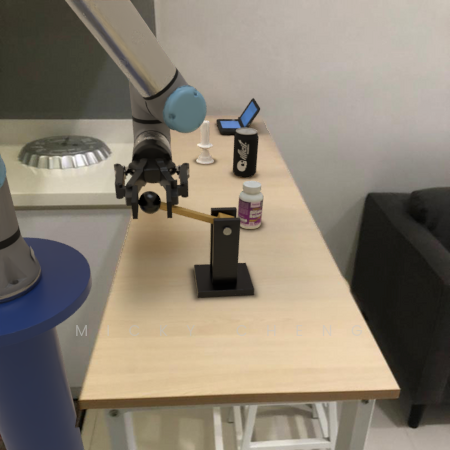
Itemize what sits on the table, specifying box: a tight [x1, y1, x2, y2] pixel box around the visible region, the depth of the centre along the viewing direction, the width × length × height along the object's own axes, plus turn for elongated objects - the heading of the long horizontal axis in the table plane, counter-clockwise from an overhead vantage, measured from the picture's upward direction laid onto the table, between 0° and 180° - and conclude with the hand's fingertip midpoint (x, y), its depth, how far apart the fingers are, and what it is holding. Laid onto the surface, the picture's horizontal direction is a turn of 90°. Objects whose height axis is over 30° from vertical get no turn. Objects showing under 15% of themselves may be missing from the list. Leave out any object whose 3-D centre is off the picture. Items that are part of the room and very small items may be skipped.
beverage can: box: [232, 127, 260, 179], centre depth 127 cm, size 7×7×12 cm
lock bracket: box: [193, 206, 255, 298], centre depth 82 cm, size 10×9×14 cm
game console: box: [215, 97, 261, 135], centre depth 164 cm, size 16×14×9 cm
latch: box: [139, 190, 234, 224], centre depth 77 cm, size 16×4×4 cm, turn 98°
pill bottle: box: [237, 180, 264, 230], centre depth 102 cm, size 5×5×10 cm
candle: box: [195, 119, 215, 165], centre depth 135 cm, size 5×5×12 cm
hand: (152, 210), depth 70 cm, fingers closed on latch, 4 cm apart
